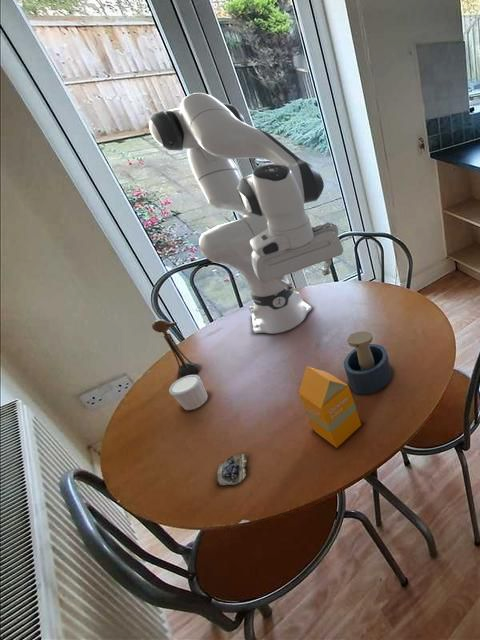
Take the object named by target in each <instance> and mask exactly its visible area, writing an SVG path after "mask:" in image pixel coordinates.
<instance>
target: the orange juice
mask: <svg viewBox="0 0 480 640" xmlns="http://www.w3.org/2000/svg"><path fill="white" fill-rule="evenodd" d="M298 395H299V398H300V401H301V402H302V405H303V407H304V410H305V412H306V415H307V417H308V419H309V421H310V424H311V426H312V428H313V430H314V432H315V433H317V435H319V436H320V437H322V438H323V439H324V440H326V441H327V442H328V443H329V444H331V445H332V446H333V447H334V448H338V447H339V446H341V445H342V444H343V443H344V442H345V441H346V440H347V439H348V438H349V437H350V436H351V435H352V434H353V433H355V432H356V431H357V430H358V429H359V428H361V426H362V423H361V420H360V416H359V413H358V409H357V406H356V404H355V401H354V398H353V396H352V391H351V388H350V385H349V384H347V383H345V382H343V381H342V380H340V379H339V378H337V377H336V376H334V375H333V374H330V373H329V372H328V371H325V370H322V369H318V368H315V367H311V366H308V365H307V366H306V367H305V371H304V374H303V377H302V380H301V384H300V387H299V391H298Z"/></svg>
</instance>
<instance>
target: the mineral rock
mask: <svg viewBox="0 0 480 640" xmlns="http://www.w3.org/2000/svg"><path fill="white" fill-rule="evenodd" d="M247 458H248V456H247V454H244V453H243V454H242V453H241V454H232V455H231V456H230V457H227V459H226V460H225V461H224V462H221V463H219V465H218V467H217V471H216V475H217V476H216V477H217V478H216V479H217V480H216V481H217V482H218V483H219V485H220V486H229V485H230V486H232V485H233V486H235V485H238V484H239V483H241V482H242V481H244V479H245V477H246V476H247V475H246V468H245V467H247V465H246V463H247Z"/></svg>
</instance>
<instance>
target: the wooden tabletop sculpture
mask: <svg viewBox="0 0 480 640" xmlns="http://www.w3.org/2000/svg"><path fill="white" fill-rule="evenodd" d="M177 325H178V323H177V321H172V322H169V321H167V320H166V319H155V320H154V321H153V322H152V324H151V328H152V330H153V331H155V332H157V333H162V337H163V338H164V339H165V342H166V343H167V345H168V346H169V348H170V350H171V351H172V354H173V355H174V358H175V359H176V362H177V365H178V369H177V375H178V377H179V378H182V377H185V376H187V375H197V373H198V372H199V368H200V367H199V366H198V365H197V364H196V363H195V362H193V361H191V360H190V359H189V358H187V356H186V355H185V354H184V353H183V351H182V350H181V349H180V348H179V346H178V344H177V343H176V340H174V338H173V336H172V335H171V333H170V331H169V329H170V328H171V327H176V326H177ZM184 359H185V360H184ZM180 363H181V364H180Z"/></svg>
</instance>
